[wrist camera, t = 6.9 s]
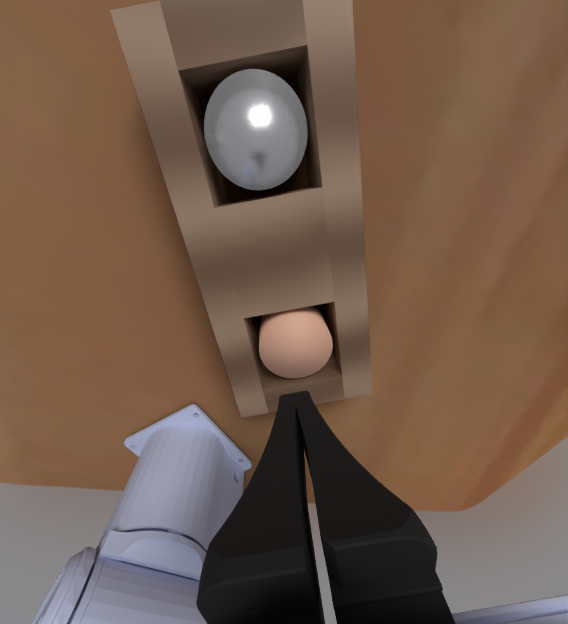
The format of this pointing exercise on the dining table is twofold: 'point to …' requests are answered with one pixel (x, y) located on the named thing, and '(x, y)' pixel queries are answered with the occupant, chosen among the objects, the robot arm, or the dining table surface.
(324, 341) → the far peg
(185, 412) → the robot arm
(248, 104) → the near peg
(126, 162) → the dining table surface
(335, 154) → the wooden peg holder
